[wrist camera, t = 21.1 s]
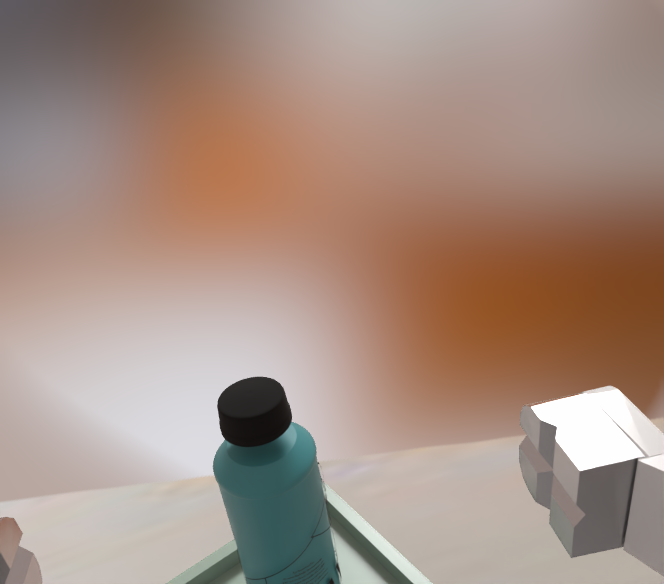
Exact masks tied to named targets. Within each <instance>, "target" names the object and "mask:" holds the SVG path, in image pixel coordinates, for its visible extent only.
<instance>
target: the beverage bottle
mask: <svg viewBox="0 0 664 584" xmlns="http://www.w3.org/2000/svg"><path fill="white" fill-rule="evenodd" d="M217 407H218V413H219V419H220V429H221V432H222V435H223V437H224V438H225V440H224V442H223V443H222V444H221V446H220V447H219V449H218V450H217V452H216V455H215V458H214V462H213V470H214V475H215V478H216V480H217V482H218V484H219V487H220V491H221V494H222V498H223V501H224V504H225V508H226V511H227V515H228V518H229V521H230V525H231V528H232V531H233V535H234V538H235V542H236V545H237V553H238V552H239V555H240V559H241V563H240V564H242V567H241V568H243V570H242V571H244V575H245V577H244V578H246V579H245V581H246V583H247V584H340V579H342V578H341V577H340V579H339V574H340V576H341V572H340V568H339V563H338V562H337V563H336V558H335V555H336V556H337V553H336V554H335V552H336V550H335V551H334V549H336V547H335V548H334V547H333V541H332V536H331V535H332V534H333V535H334V533H332V534H331V532H333V531H331V529H330V526H331V524H330V521H329V518H330V517H329V518H328V516H329V515H330V512H328V513H329V515H328V513H327V511H328V510H327V505H326V504H327V503H328V501H327V502H326V500H327V497H325V496H327V494H326V493H325V494H326V495H324V490H325V491H326V489H324V490H323V486H324V488H325V485H324V484H322V481H321V479H322V478H321V476H320V472H319V467H318V464H319V463H318V462H317V457H316V446H315V442H314V439H313V437H312V436H311V434H310V433H309V432H308V431H307V430H306V429H305V428H303V427H302V426H300V425H298V424H296V423H294V422H291V420H292V414H291V409H290V405H289V403H288V401H287V398H286V395H285V391H284V389H283V387H282V386H281V384H280V383H278V382H277V381H276V380H274V379H271V378H267V377H251V378H247V379H243V380H241V381H238V382H236V383H234V384H232V385H231V386H229V387H228V388H226V389H225V390H224V391H223V393H222V394H221V395H220V397H219V399H218V406H217ZM320 467H321V466H320ZM323 478H324V477H323ZM323 483H324V482H323ZM325 499H326V500H325ZM328 507H329V506H328ZM330 519H331V518H330ZM329 524H330V525H329ZM333 537H334V536H333ZM333 539H334V538H333ZM334 540H335V539H334ZM335 545H336V544H335ZM337 559H338V558H337ZM239 561H240V560H239ZM337 561H338V560H337ZM338 572H339V574H338ZM342 584H343V583H342Z"/></svg>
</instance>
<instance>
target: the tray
mask: <svg viewBox="0 0 664 584" xmlns="http://www.w3.org/2000/svg"><path fill="white" fill-rule="evenodd" d="M322 484H324V485H325V488H324V486H323V490H324V489H326V491H325V490H324V495H326V494H327V496H325V497H327V500H326V499H325V500H326V502H327V501H328V503H327V504H326V505H327V510H328V511H327V513H328V512H330V515H329V513H328V515H329V516H328V518H329V517H330V518H331V519H330V518H329V521H330V524H331V526H330V529H331V531H333V532H331V534H332V533H334V535H333V534H332V535H331V536H332V541H333V547H334V548H335V547H336V549H334V551H335V550H336V552H335V554H336V553H337V556H336V555H335V558H336V563H337V562H338V563H339V568H340V572H341V576H340V574H339V572H338V574H339V579H340V577H341V578H342V579H340V584H342V583H343V584H432V583H431V582H430V581H429V580H428V579H427V578H426V577H425V576H424V575H423V574H422V573H421V572H420V571H419V570H418V569H416V568H415V567H414V566H413V565H412V564H411V563H410V562H409V561H408V560H407V559H406V558H405V557H404V556H403V555H401V554H400V553H399V552H398V551H397V550H396V549H395V548H394V547H393V546H392V545H391V544H390V543H389V542H388V541H387V540H385V539H384V538H383V537H382V536H381V535H380V534H379V533H378V532H377V531H376V530H375V529H374V528H373V527H372V526H370V525H369V524H368V523H367V522H366V521H365V520H364V519H363V518H362V517H361V516H360V515H359V514H358V513H357V512H355V511H354V510H353V509H352V508H351V507H350V506H349V505H348V504H347V503H346V502H345V501H344V500H343V499H342V498H341V497H339V496H338V495H337V494H336V493H335V492H334V491H333V490H332V489H331V488H330V487H329V486H328V485H327V484H326V483H323V482H322ZM325 493H326V494H325ZM328 506H329V507H328ZM330 524H329V525H330ZM333 536H334V537H333ZM333 538H334V539H335V540H334V539H333ZM335 544H336V545H335ZM337 558H338V559H337ZM239 560H240V561H239ZM337 560H338V561H337ZM240 563H241V559H240V555H239V552H238V553H237V545H236V542H235V539H234V540H232V541H231V542H229V543H228V544H226V545H225V546H223V547H221V548H220V549H218V550H217V551H215V552H214V553H212V554H211V555H209V556H208V557H206V558H205V559H203V560H201V561H200V562H198V563H197V564H195V565H194V566H192V567H191V568H189V569H188V570H186V571H185V572H183V573H181V574H180V575H178V576H177V577H175V578H174V579H172V580H171V581H169V582H168V583H166V584H247V583H246V581H245V579H246V578H244V577H245V575H244V571H242V570H243V568H241V567H242V564H240Z"/></svg>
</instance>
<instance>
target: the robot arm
mask: <svg viewBox="0 0 664 584" xmlns="http://www.w3.org/2000/svg"><path fill="white" fill-rule="evenodd" d="M520 425H521V427H522V429H523V430H524V431H525V433H526V434H527V436H526V437H525V439H524V440H523V441H522V443H521V444H520V445H519V462H520V466H521V471H522V475H523V478H524V481H525V483H526V485H527V488H528V490H529V492H530V493H531V495H532V496H533V498H534V500H535V501H536V502H537V503H539V504H541V505H542V506H544V507H546V508H548V509H550V522H549V524H550V525H551V527H552V529H553V530H554V532H555V533H556V535H557V536H558V538H559V540H560V541H561V543H562V544H563V546H564V547H565V549H566V551H567V552H568V554H569V555H570V557H571V558H573V557H578V556H582V555H587V554H592V553H596V552H601V551H606V550H611V549H615V548H620V547H624V549H623V550H625V551H626V552H628V553H629V554H631V555H632V556H634V557H635V558H637V559H638V560H640V561H641V562H643V563H644V564H646V565H647V566H649V567H650V568H652V569H653V570H655V571H656V572H658V573H659V574H661V575H662V576H664V434H663V433H662V432H661V431H660V430H659V429H658V428H657V427H656V426H655V425H654V424H653V423H652V422H651V421H650V420H649V419H648V418H647V417H646V416H645V415H644V414H643V413H642V412H641V411H640V410H639V409H638V408H637V407H636V406H635V405H634V404H633V403H631V401H629V400H628V399H627V398H626V397H625V396H624V395H623V394H622V393H621V392H620V391H619V390H618V389H617V388H614V387H612V386H607V387H602V388H598V389H593V390H589V391H585V392H582V393H580V394H573V395H569V396H565V397H560V398H555V399H551V400H547V401H542V402H538V403H533V404H529V405H524V406H523V408H522V411H521V415H520ZM22 534H23V533H22V531H21V529H20V528H19V526H18V524H17V523H16V521H15V519H14V518H9V517H3V518H0V584H42V576H41V571H40V567H39V564H38V562H37V560H36V558H35V556H34V554H33V553H32V552H30V551H28V550H26V549H24V548H22V547H20V546H19V543H20V540H21V537H22Z"/></svg>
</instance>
